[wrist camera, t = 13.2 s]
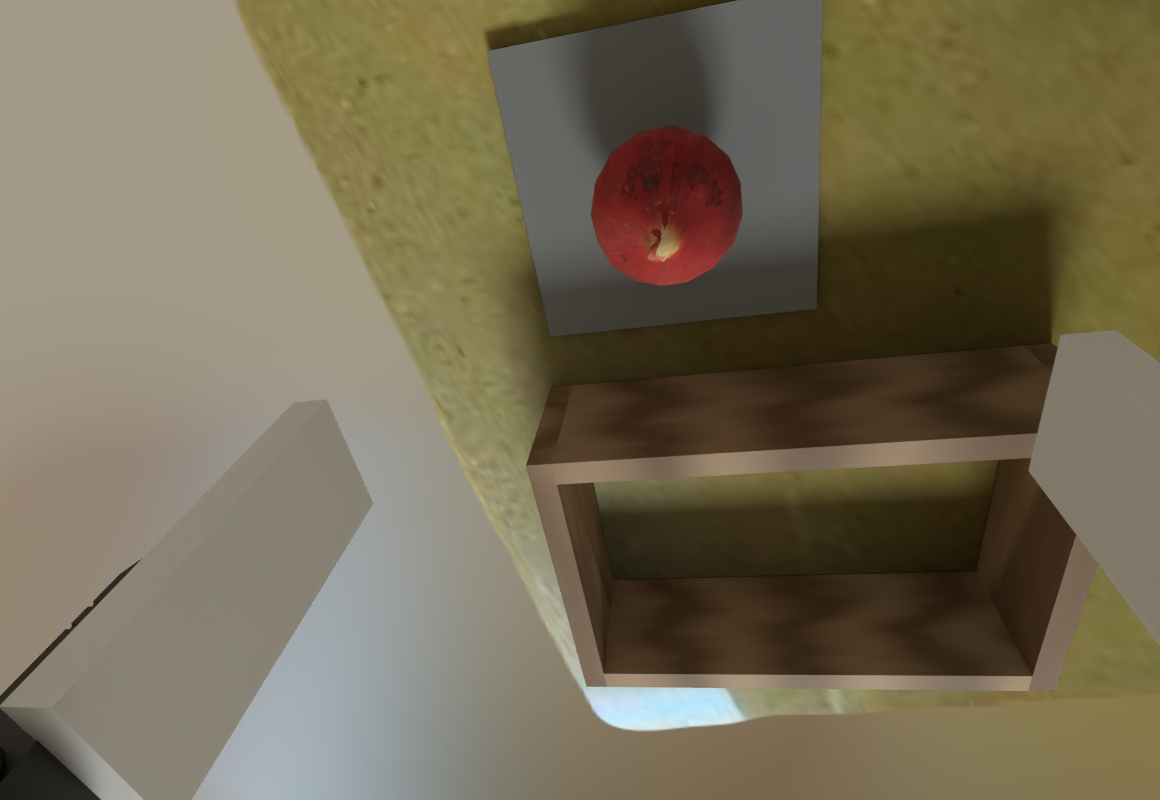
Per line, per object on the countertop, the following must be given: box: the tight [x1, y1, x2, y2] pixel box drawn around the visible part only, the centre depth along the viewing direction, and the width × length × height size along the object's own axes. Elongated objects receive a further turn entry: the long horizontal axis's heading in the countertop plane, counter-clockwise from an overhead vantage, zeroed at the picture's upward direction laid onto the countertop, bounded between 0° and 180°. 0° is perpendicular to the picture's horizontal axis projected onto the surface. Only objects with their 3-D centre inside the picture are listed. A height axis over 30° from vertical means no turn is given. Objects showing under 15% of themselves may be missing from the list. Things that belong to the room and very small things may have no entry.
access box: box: [526, 343, 1098, 691], centre depth 33 cm, size 24×16×7 cm
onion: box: [591, 126, 743, 286], centre depth 24 cm, size 6×6×8 cm
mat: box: [487, 0, 823, 337], centre depth 28 cm, size 13×13×1 cm
